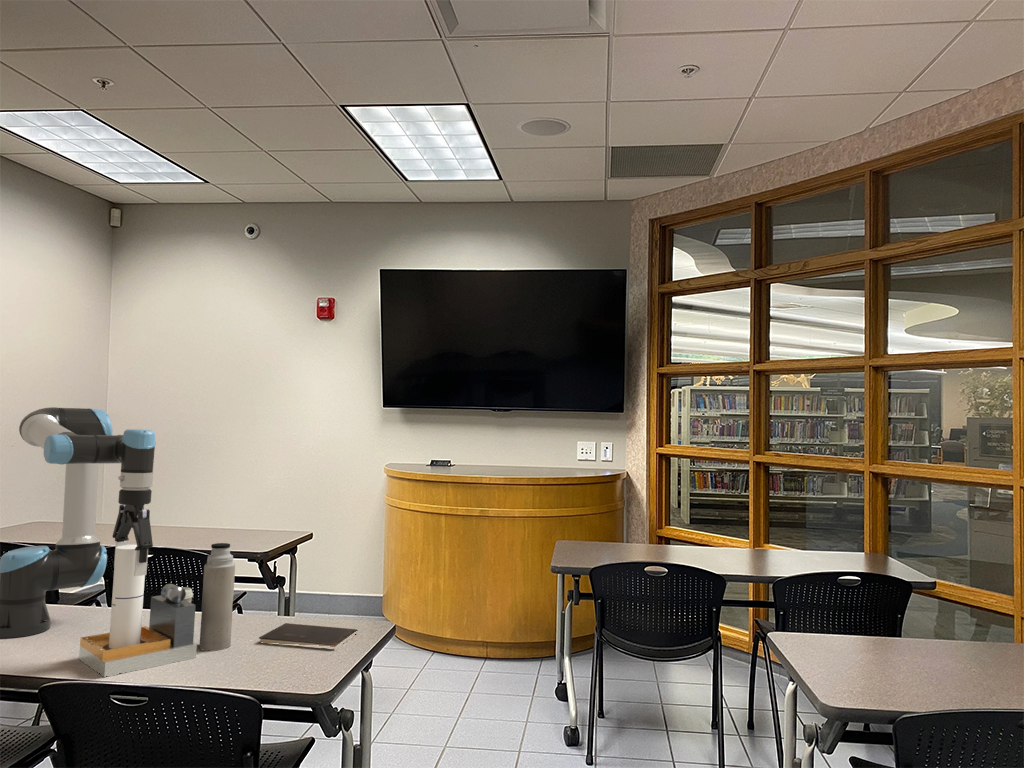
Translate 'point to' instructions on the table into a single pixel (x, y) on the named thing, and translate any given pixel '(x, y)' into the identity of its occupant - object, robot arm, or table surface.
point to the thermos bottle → (217, 599)
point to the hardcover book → (307, 635)
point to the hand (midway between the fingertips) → (129, 571)
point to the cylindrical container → (126, 600)
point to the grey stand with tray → (148, 638)
